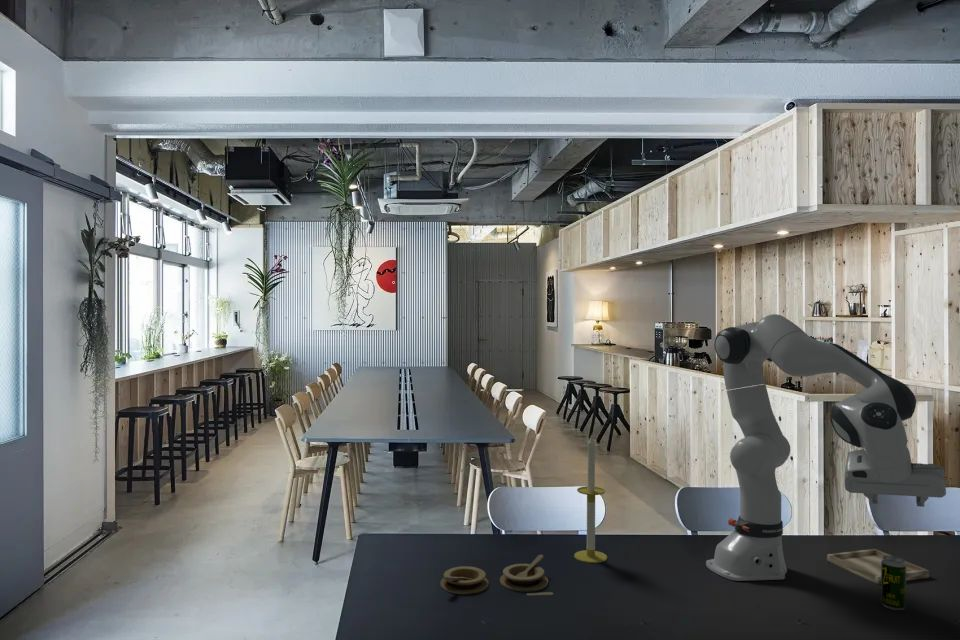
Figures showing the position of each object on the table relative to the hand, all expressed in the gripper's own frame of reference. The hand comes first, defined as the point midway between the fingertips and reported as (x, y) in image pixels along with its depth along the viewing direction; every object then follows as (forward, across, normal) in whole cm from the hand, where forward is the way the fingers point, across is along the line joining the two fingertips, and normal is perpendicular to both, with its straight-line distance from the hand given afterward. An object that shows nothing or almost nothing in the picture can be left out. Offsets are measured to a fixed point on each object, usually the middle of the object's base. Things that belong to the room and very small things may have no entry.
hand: (897, 502), depth 160 cm
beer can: (+29, +4, +9) cm, 31 cm away
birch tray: (+45, +10, -12) cm, 48 cm away
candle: (+14, +81, +16) cm, 84 cm away
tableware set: (-7, +93, +43) cm, 103 cm away
